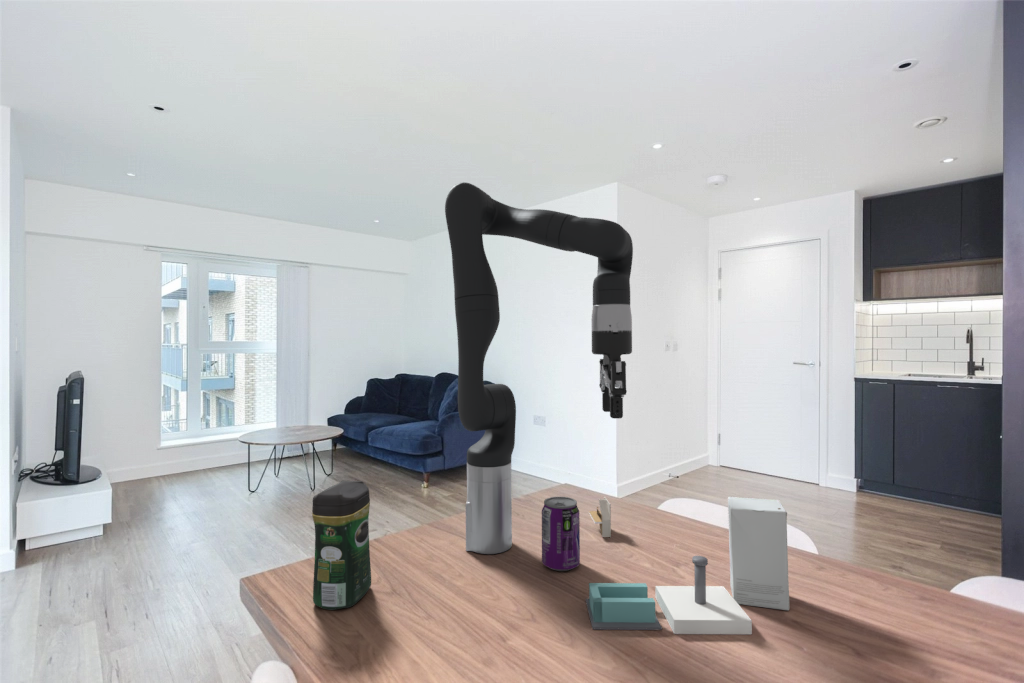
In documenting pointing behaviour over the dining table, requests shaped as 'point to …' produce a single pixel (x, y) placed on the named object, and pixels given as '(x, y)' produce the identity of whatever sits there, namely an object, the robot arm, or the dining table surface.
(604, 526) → the architectural model
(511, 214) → the robot arm
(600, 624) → the felt pad
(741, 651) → the dining table surface
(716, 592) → the stand
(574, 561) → the beverage can
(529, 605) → the dining table surface
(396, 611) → the dining table surface
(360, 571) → the coffee jar
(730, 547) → the skincare box
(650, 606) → the c link
